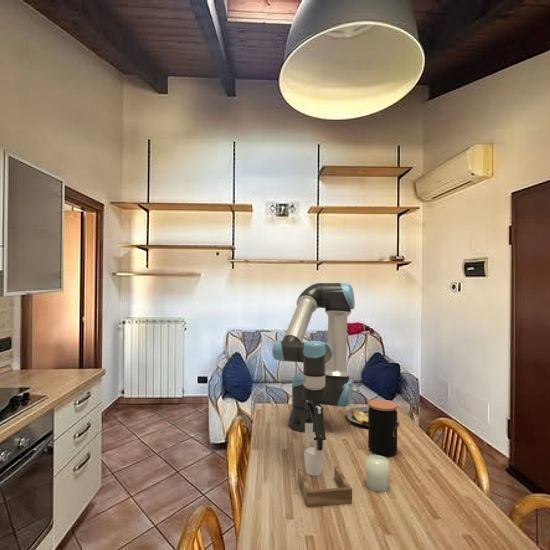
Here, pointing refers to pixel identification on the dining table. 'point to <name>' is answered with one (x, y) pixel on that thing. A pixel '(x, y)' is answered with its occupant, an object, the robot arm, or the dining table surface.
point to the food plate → (359, 415)
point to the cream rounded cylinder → (377, 473)
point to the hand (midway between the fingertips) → (313, 450)
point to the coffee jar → (382, 427)
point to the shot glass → (312, 462)
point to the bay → (326, 491)
